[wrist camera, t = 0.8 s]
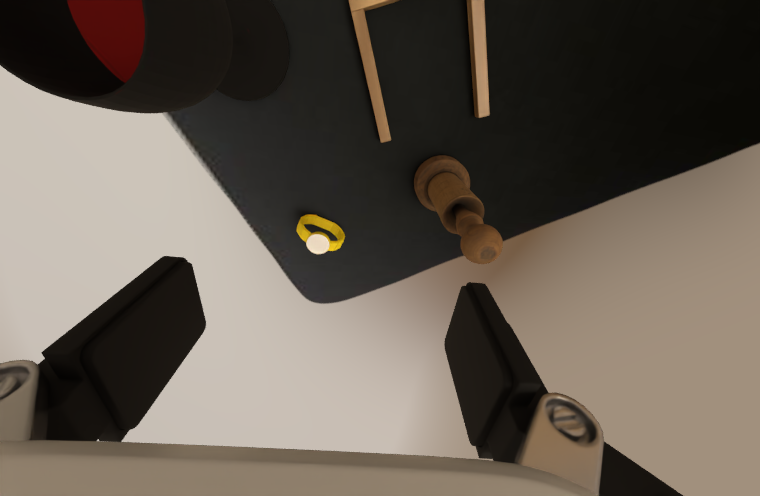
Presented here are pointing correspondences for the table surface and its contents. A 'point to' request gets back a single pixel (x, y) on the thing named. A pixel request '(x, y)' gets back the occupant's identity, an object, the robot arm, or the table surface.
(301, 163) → the table surface
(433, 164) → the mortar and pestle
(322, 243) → the watch
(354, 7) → the frame
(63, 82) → the wine glass
